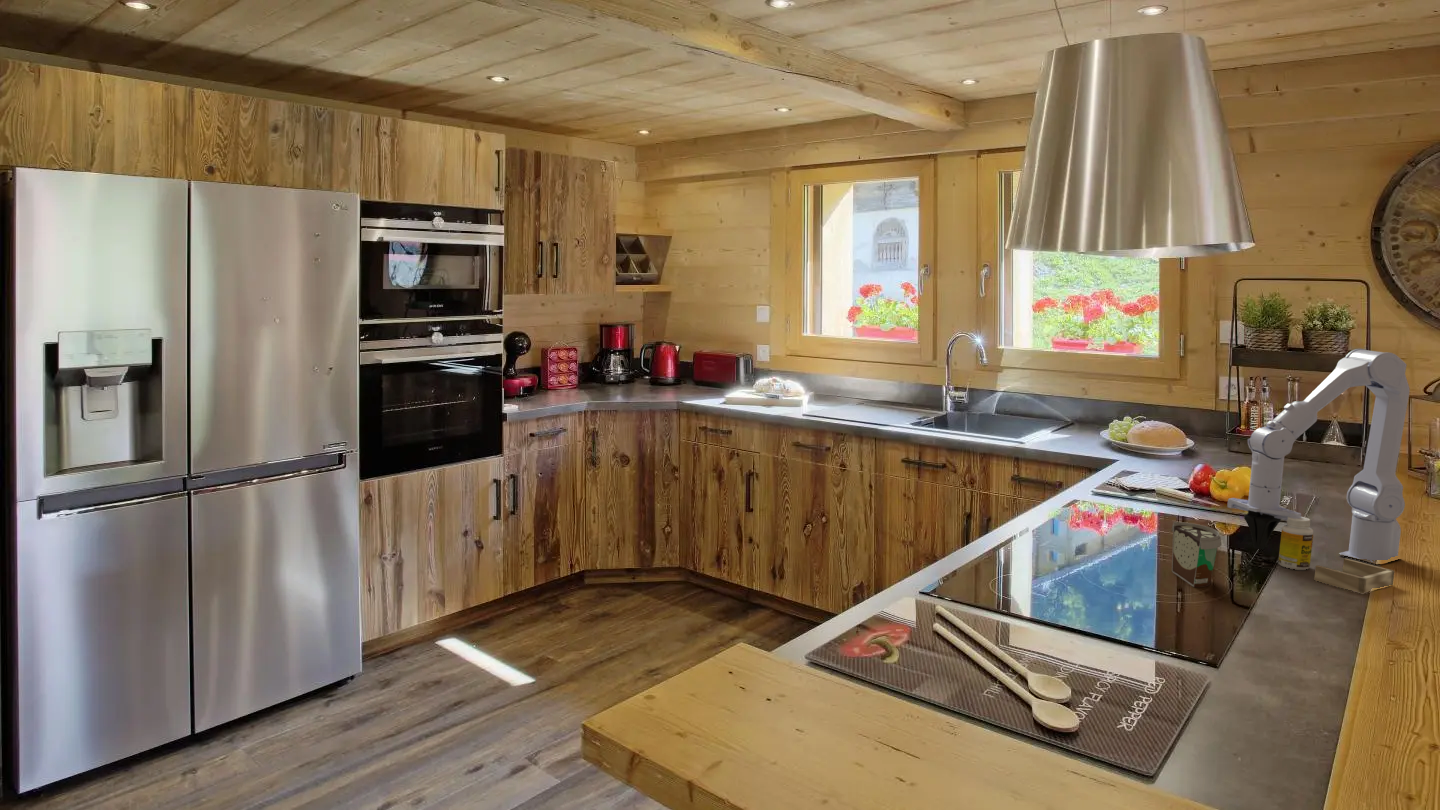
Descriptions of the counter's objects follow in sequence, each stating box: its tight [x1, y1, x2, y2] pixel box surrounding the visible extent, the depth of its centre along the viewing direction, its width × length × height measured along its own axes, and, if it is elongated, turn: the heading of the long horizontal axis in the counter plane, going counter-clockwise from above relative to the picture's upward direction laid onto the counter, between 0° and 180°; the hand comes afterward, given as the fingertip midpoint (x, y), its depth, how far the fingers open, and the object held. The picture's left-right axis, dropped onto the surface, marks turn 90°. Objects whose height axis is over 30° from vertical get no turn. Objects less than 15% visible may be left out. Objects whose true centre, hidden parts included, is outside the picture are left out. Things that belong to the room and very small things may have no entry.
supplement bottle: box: [1278, 516, 1314, 571], centre depth 193 cm, size 6×6×10 cm
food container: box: [1171, 521, 1222, 588], centre depth 184 cm, size 12×6×10 cm, turn 179°
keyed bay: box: [1313, 557, 1395, 593], centre depth 183 cm, size 11×9×3 cm
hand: (1259, 548), depth 200 cm, fingers closed
